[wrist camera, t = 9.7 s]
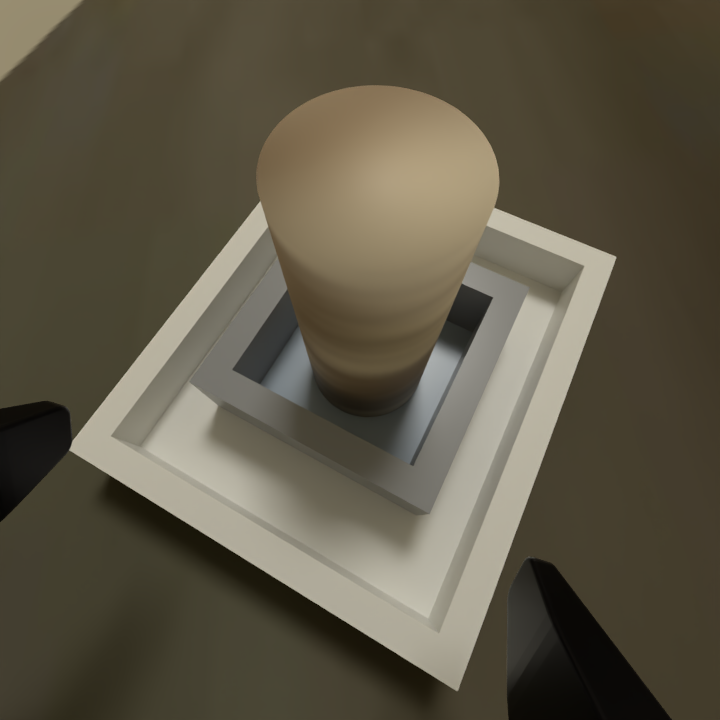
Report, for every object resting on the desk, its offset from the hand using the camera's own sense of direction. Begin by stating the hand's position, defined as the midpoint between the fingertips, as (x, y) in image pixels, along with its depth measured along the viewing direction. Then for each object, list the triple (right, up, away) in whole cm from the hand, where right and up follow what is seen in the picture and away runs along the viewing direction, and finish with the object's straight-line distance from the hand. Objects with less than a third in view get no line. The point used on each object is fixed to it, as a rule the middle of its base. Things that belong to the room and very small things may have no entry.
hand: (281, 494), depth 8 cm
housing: (+2, +2, +10) cm, 10 cm away
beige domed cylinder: (+2, +2, +9) cm, 10 cm away
